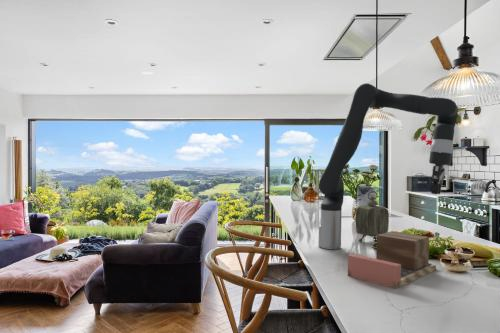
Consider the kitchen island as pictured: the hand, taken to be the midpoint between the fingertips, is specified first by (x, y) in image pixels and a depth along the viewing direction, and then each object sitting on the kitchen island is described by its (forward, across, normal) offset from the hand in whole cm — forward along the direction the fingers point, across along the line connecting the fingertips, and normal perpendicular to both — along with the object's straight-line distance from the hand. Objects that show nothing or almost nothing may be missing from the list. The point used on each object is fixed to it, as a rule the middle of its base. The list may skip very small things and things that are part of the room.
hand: (435, 193), depth 144 cm
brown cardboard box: (+27, +12, -7) cm, 30 cm away
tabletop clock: (+28, -29, -28) cm, 49 cm away
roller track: (+29, +19, -8) cm, 36 cm away
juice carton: (+28, -53, -38) cm, 71 cm away
